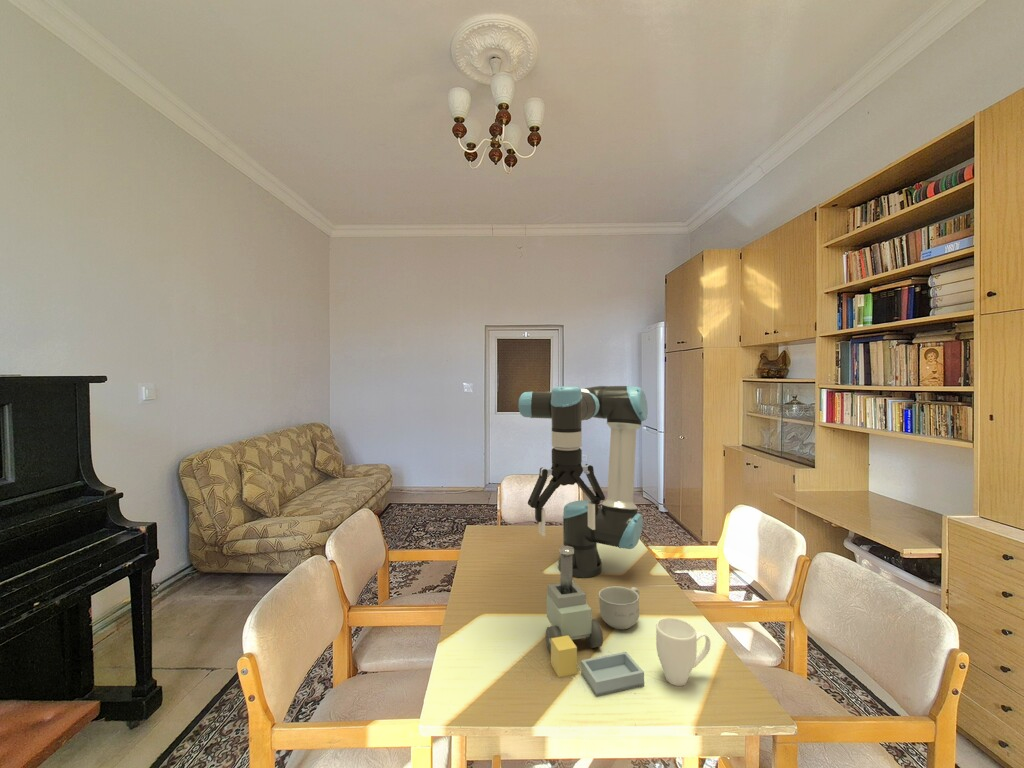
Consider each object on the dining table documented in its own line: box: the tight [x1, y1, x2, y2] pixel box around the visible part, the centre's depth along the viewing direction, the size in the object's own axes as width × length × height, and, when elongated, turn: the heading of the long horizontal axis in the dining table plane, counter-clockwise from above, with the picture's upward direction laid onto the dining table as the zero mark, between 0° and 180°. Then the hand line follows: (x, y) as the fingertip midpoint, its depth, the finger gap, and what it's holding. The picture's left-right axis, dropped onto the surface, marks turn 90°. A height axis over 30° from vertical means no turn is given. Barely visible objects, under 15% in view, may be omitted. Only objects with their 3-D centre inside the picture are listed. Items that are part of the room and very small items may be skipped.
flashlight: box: [558, 545, 574, 595], centre depth 111 cm, size 4×4×13 cm
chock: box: [550, 635, 578, 678], centre depth 99 cm, size 4×5×6 cm
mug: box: [655, 617, 711, 687], centre depth 96 cm, size 12×8×11 cm
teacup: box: [598, 585, 640, 630], centre depth 119 cm, size 14×11×8 cm
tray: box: [580, 651, 645, 698], centre depth 95 cm, size 11×7×3 cm, turn 106°
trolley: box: [545, 580, 604, 655], centre depth 109 cm, size 13×12×12 cm
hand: (567, 531), depth 109 cm, fingers open, 13 cm apart
